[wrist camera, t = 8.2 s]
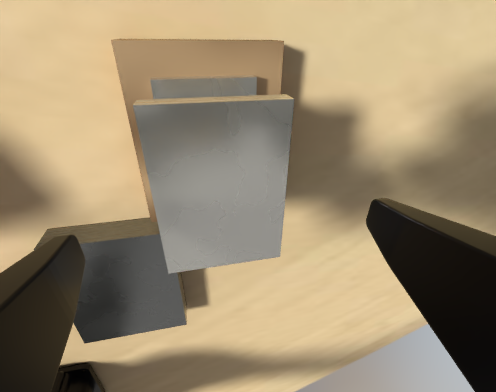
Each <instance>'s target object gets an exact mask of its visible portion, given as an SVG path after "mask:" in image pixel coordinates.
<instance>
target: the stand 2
mask: <svg viewBox="0 0 496 392" xmlns="http://www.w3.org/2000/svg"><path fill="white" fill-rule="evenodd" d="M111 42H112V46H113V51H114V55H115V60H116V64H117V69H118V73H119V78H120V82H121V87H122V91H123V96H124V100H125V105H126V109H127V114H128V118H129V123H130V127H131V132H132V136H133V141H134V146H135V150H136V155H137V159H138V164H139V168H140V173H141V177H142V182H143V186H144V191H145V195H146V200H147V204H148V209H149V213H150V218H151V222H157V217H156V212H155V208H154V203H153V198H152V193H151V189H150V184H149V179H148V175H147V170H146V165H145V160H144V156H143V151H142V146H141V141H140V137H139V132H138V127H137V123H136V118H135V113H134V108H133V104H134V103H135V101H136V100H144V99H153V94H152V88H151V82H150V79H151V78H152V77H193V76H238V75H254V76H255V77H257V89H256V95H280V94H281V79H282V64H283V50H284V41H277V40H176V39H115V40H111Z"/></svg>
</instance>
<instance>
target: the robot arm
mask: <svg viewBox="0 0 496 392" xmlns="http://www.w3.org/2000/svg"><path fill="white" fill-rule="evenodd" d="M366 224H367V227H368V229H369V231H370V233H371V235H372V236H373V238H374V240H375V242H376V244H377V246H378V247H379V249H380V251H381V253H382V255H383V257H384V258H385V260H386V262H387V263H388V265H389V267H390V268H391V270H392V271H393V273H394V274H395V276H396V277H397V279H398V280H399V282H400V283H401V284H402V286H403V287H404V289H405V290H406V292H407V293H408V295H409V296H410V298H411V299H412V301H413V302H414V303H415V305H416V306H417V308H418V309H419V311H420V312H421V314H422V315H423V317H424V318H425V319H426V321H427V322H428V324H429V325H430V327H431V328H432V330H433V331H434V333H435V334H436V336H437V337H438V338H439V340H440V341H441V343H442V344H443V345H444V347H445V349H446V350H447V352H448V353H449V355H450V356H451V357H452V359H453V360H454V362H455V363H456V365H457V366H458V368H459V369H460V371H461V372H462V374H463V375H464V376H465V378H466V379H467V381H468V382H469V384H470V385H471V387H472V388H473V390H474V391H475V392H496V236H493V235H490V234H487V233H485V232H482V231H479V230H476V229H473V228H470V227H467V226H465V225H462V224H459V223H456V222H453V221H450V220H447V219H444V218H442V217H439V216H436V215H433V214H430V213H427V212H424V211H421V210H419V209H416V208H413V207H410V206H407V205H404V204H401V203H399V202H396V201H393V200H390V199H387V198H381V199H375V200H373V201H372V202H371V205H370V208H369V211H368V215H367V218H366ZM84 268H85V256H84V253H83V251H82V249H81V246H80V244H79V241H78V239H77V237H76V236H75V235H73V234H66V235H58V236H55V237H54V238H52V239H51V240H49V241H48V242H46V243H45V244H43V245H42V246H40V247H39V248H37V249H36V250H34V251H33V252H31V253H30V254H28V255H27V256H25V257H24V258H22V259H21V260H19V261H18V262H16V263H15V264H13V265H12V266H10V267H9V268H7V269H6V270H5V271H3V272H2V273H0V392H105V391H104V389H103V387H102V385H101V384H100V382H99V380H98V378H97V377H96V375H95V373H94V371H93V369H92V368H91V366H90V365H88V364H82V365H77V366H72V367H67V368H62V369H58V368H59V365H60V362H61V359H62V356H63V353H64V350H65V347H66V343H67V340H68V337H69V334H70V331H71V328H72V325H73V321H74V318H75V314H76V309H77V305H78V299H79V294H80V289H81V284H82V279H83V274H84Z"/></svg>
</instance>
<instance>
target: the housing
mask: <svg viewBox="0 0 496 392" xmlns="http://www.w3.org/2000/svg"><path fill="white" fill-rule="evenodd" d="M150 82H151V88H152V94H153V99H144V100H136V101H135V103H134V104H133V108H134V113H135V118H136V123H137V127H138V132H139V137H140V141H141V146H142V151H143V156H144V160H145V165H146V170H147V175H148V179H149V184H150V189H151V193H152V198H153V203H154V208H155V212H156V217H157V222H158V226H159V231H160V236H161V241H162V245H163V250H164V255H165V260H166V264H167V269H168V274H170V273H177V272H183V271H190V270H196V269H203V268H209V267H216V266H223V265H229V264H236V263H242V262H249V261H255V260H262V259H268V258H275V257H280V251H281V240H282V229H283V218H284V207H285V196H286V186H287V175H288V164H289V153H290V142H291V131H292V120H293V109H294V98H292V97H290V96H288V95H287V94H281V95H256V89H257V77H255V76H254V75H238V76H193V77H152V78H151V79H150Z"/></svg>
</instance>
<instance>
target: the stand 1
mask: <svg viewBox="0 0 496 392" xmlns="http://www.w3.org/2000/svg"><path fill="white" fill-rule="evenodd" d="M66 234H73V235H75V236H76V237H77V239H78V241H79V244H80V246H81V249H82V251H83V253H84V256H85V268H84V274H83V279H82V284H81V289H80V294H79V299H78V305H77V309H76V314H75V318H74V321H73V323H74V325H75V326H76V328H77V330H78V332H79V334H80V336H81V338H82V339H83V341H84V343H89V342H95V341H100V340H106V339H111V338H116V337H122V336H127V335H132V334H138V333H143V332H149V331H154V330H159V329H165V328H170V327H176V326H181V325H186V324H187V316H186V300H185V294H184V288H183V283H182V277H181V272H177V273H170V274H168V269H167V264H166V260H165V255H164V250H163V245H162V241H161V236H160V231H159V226H158V222H151V218H144V219H135V220H126V221H117V222H108V223H99V224H90V225H81V226H72V227H63V228H54V229H47V231H46V232H45V234H44V235H43V237H42V238H41V240H40V241H39V243H38V244H37V246H36V247H35V248H34V250H36V249H37V248H39V247H40V246H42V245H43V244H45V243H46V242H48V241H49V240H51V239H52V238H54V237H55V236H58V235H66Z"/></svg>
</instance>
